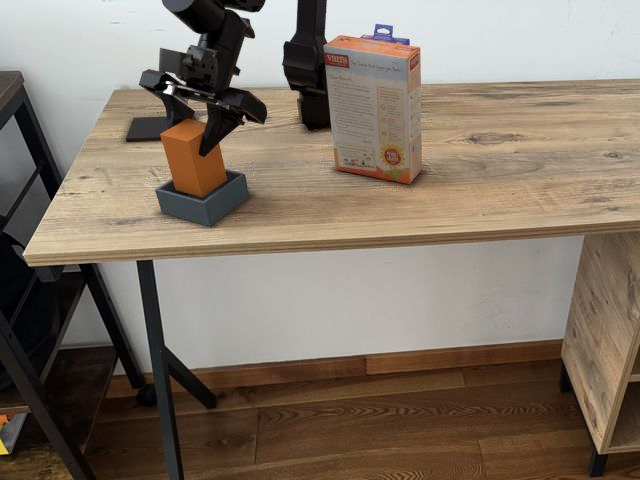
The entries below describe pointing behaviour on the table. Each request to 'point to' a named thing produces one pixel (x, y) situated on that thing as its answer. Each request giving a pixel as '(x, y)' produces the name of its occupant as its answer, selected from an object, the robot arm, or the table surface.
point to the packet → (192, 159)
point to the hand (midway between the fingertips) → (186, 151)
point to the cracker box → (375, 107)
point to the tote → (204, 200)
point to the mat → (147, 128)
